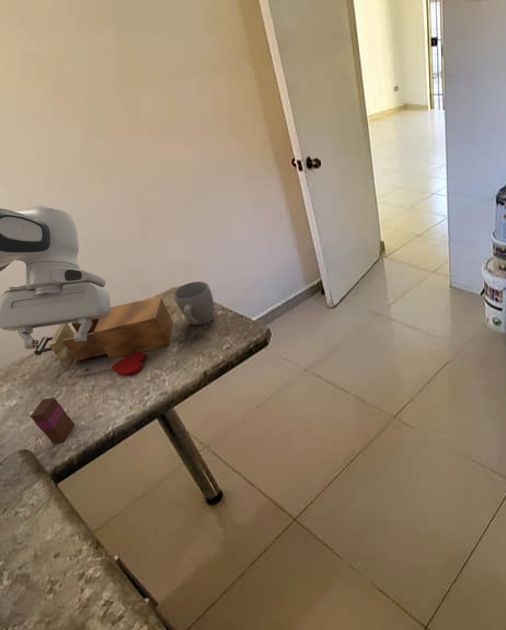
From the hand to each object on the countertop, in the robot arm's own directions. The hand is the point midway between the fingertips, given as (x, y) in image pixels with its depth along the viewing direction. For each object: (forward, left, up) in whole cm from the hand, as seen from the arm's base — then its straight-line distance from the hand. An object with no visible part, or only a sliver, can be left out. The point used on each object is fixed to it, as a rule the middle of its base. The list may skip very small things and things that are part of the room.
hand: (56, 344), depth 90 cm
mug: (+23, +19, -14) cm, 33 cm away
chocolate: (-2, -12, -14) cm, 18 cm away
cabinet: (+9, +17, -14) cm, 24 cm away
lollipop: (+3, +7, -14) cm, 16 cm away
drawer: (-4, +17, -13) cm, 22 cm away
